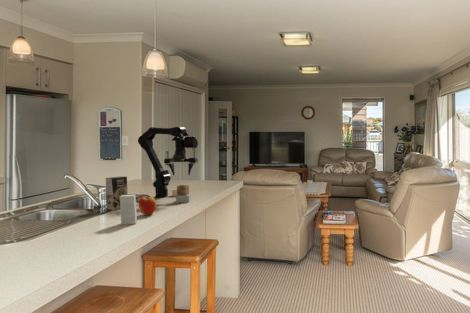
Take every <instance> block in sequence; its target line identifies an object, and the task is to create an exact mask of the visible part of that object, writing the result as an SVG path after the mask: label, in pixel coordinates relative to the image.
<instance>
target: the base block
mask: <svg viewBox="0 0 470 313" xmlns="http://www.w3.org/2000/svg"><path fill="white" fill-rule="evenodd" d="M190 201H191V194H190V193H189V194H188V195H176V196H175V203H177V204H178V203H179V202H181V204H182V202H183V204H184V203H190Z"/></svg>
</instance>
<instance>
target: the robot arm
mask: <svg viewBox="0 0 470 313" xmlns="http://www.w3.org/2000/svg"><path fill="white" fill-rule="evenodd" d="M157 135H170V136H172V137H173V138H172V139H171V141H172V142H175V143H174V144H175V147H174V148H175V149H174V154H173V155H172V157H166V158H164V159H163V163H164V164H166V166H168V167H169V168H170V170H171V173H172V175H173V176H175V163H187V164H188V169H187V170H188V176H190V175H191V172H192V169H193V166H194V165H195V164H196V163H198V161H199V160H198V157H188V158H187V157H186V155H187V154H186V152H187V150H186V149H196V148H198V146H199V143H198V140H197V137H196V136H195V135H193V136H190V134H189V133H188V132H187V129H186V127H184V126H173V127H170V128H169V127H156V126H155V127H154V126H152V127H149V128H148V129H147V130H145V131H144V132H143V133H142V135H140V136H139V137H138V138H137V143H138V145H139V146H140V147H141V149H143V150H144V151H145V152H146V155H147V157H148V159H149V161H150V163H151V166H152V167H153V170H154V172H155V174H154V175H155V176H154V178H155V181H154V182H153V183H152V187H153V188H154V189H155V191H154V192H155V195H154V198H166V197H168V196H169V188H168V186H169V184H170V181H171V174H170V171H169V170H168V169H164V167H163V166H162V164H161V162H160V159H159V157H158V154H157V152H156V151H155V149H154V141H153V140H154V139H155V138H156V136H157Z"/></svg>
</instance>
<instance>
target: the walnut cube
mask: <svg viewBox="0 0 470 313" xmlns="http://www.w3.org/2000/svg"><path fill="white" fill-rule="evenodd" d="M176 189H177V195H188V194H190V186H189V184H180V185H179V184H178V185H177V186H176Z"/></svg>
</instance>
